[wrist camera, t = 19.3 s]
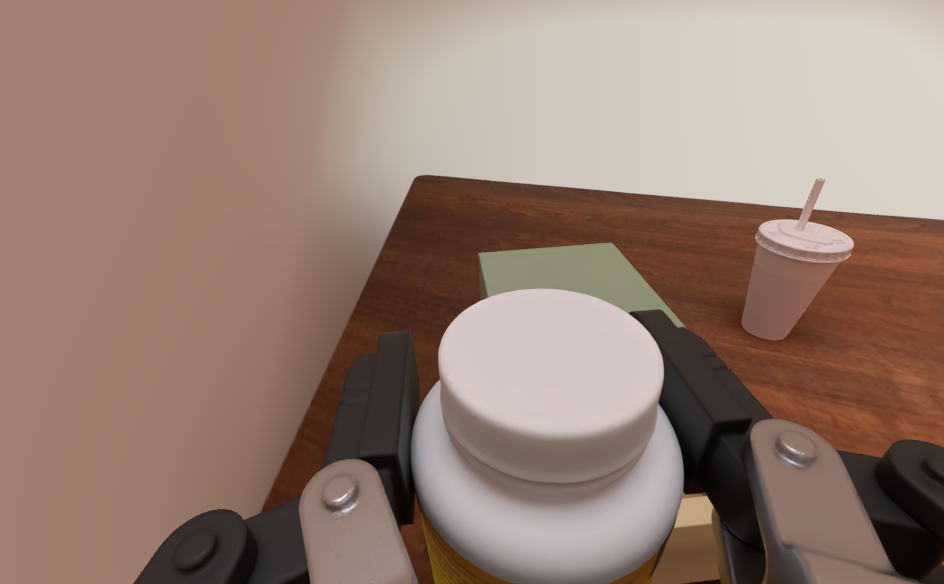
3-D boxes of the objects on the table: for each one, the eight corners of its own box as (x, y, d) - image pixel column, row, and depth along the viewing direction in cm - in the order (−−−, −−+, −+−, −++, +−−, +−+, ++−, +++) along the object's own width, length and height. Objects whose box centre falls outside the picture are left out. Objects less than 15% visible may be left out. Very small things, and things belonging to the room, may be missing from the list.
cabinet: (672, 421, 30) (699, 341, 26) (502, 439, 29) (501, 359, 25) (601, 308, 42) (612, 242, 38) (481, 318, 41) (478, 252, 37)
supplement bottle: (643, 743, 10) (805, 513, 5) (424, 705, 11) (334, 470, 5) (608, 516, 15) (667, 270, 9) (457, 502, 15) (428, 266, 10)
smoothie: (761, 303, 41) (819, 165, 34) (823, 341, 36) (908, 188, 29) (709, 315, 40) (757, 175, 32) (765, 357, 35) (838, 201, 27)
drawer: (851, 711, 16) (933, 661, 13) (574, 749, 16) (592, 708, 13) (646, 381, 32) (662, 323, 29) (503, 395, 31) (503, 337, 28)
